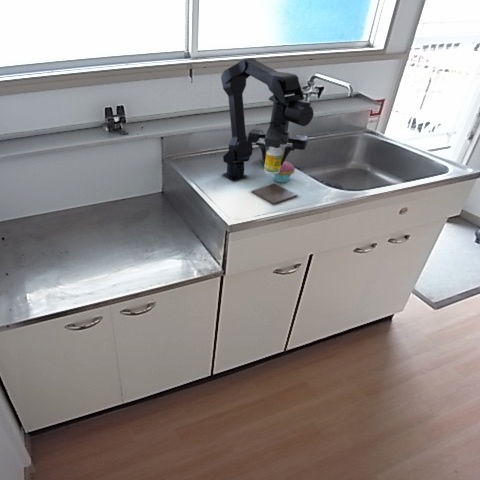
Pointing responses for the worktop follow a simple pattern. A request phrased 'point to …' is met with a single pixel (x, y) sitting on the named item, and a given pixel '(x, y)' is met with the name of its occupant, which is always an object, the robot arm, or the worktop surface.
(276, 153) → the supplement bottle
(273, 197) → the plate
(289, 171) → the cupcake
